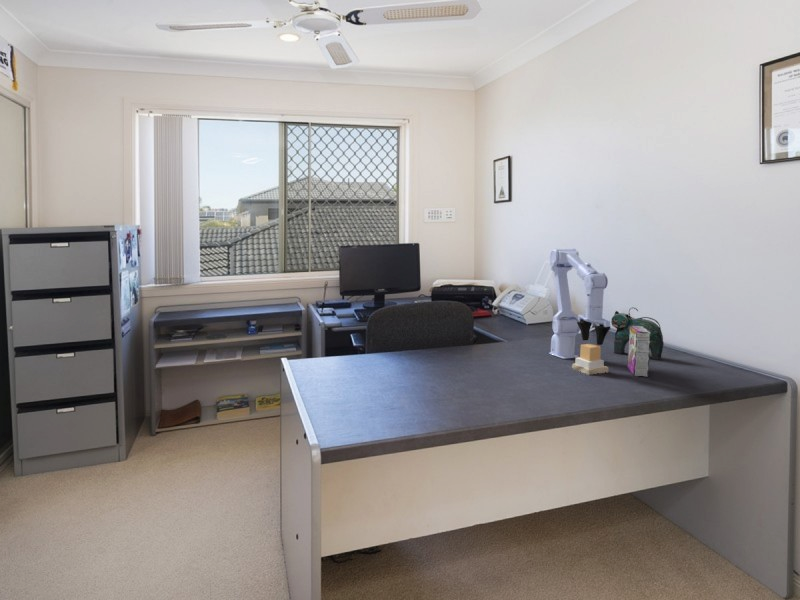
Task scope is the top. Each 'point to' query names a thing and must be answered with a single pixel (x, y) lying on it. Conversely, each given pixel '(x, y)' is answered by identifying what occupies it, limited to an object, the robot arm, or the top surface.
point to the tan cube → (590, 352)
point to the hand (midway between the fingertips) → (592, 342)
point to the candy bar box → (639, 351)
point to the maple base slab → (590, 371)
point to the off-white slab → (589, 363)
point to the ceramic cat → (623, 329)
